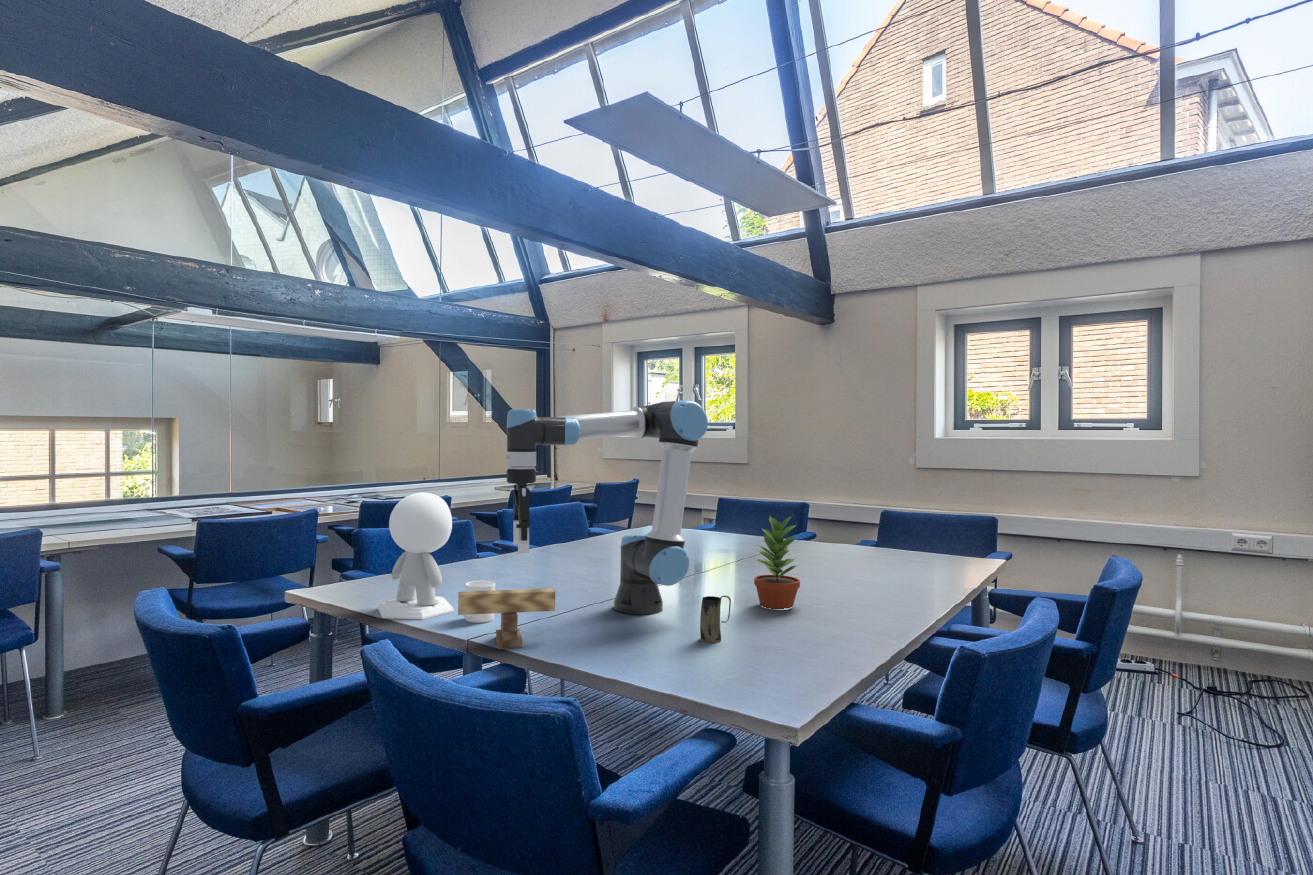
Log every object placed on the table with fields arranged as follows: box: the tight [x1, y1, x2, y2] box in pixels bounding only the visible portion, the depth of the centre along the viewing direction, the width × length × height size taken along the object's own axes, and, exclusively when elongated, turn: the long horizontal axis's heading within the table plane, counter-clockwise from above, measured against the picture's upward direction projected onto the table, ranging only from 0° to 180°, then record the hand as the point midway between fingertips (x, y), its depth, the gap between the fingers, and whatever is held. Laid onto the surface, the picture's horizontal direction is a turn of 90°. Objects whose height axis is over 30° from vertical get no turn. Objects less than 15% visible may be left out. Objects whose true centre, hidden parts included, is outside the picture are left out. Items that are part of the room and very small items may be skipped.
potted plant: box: [753, 515, 801, 609], centre depth 221 cm, size 15×15×30 cm
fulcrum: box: [495, 612, 523, 650], centre depth 177 cm, size 6×10×8 cm, turn 15°
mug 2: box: [699, 595, 732, 644], centre depth 183 cm, size 8×6×12 cm
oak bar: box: [457, 588, 556, 616], centre depth 176 cm, size 24×4×5 cm, turn 105°
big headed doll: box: [377, 492, 455, 621], centre depth 206 cm, size 20×23×35 cm
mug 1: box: [463, 580, 496, 624], centre depth 196 cm, size 12×8×10 cm
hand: (520, 548), depth 181 cm, fingers open, 13 cm apart
